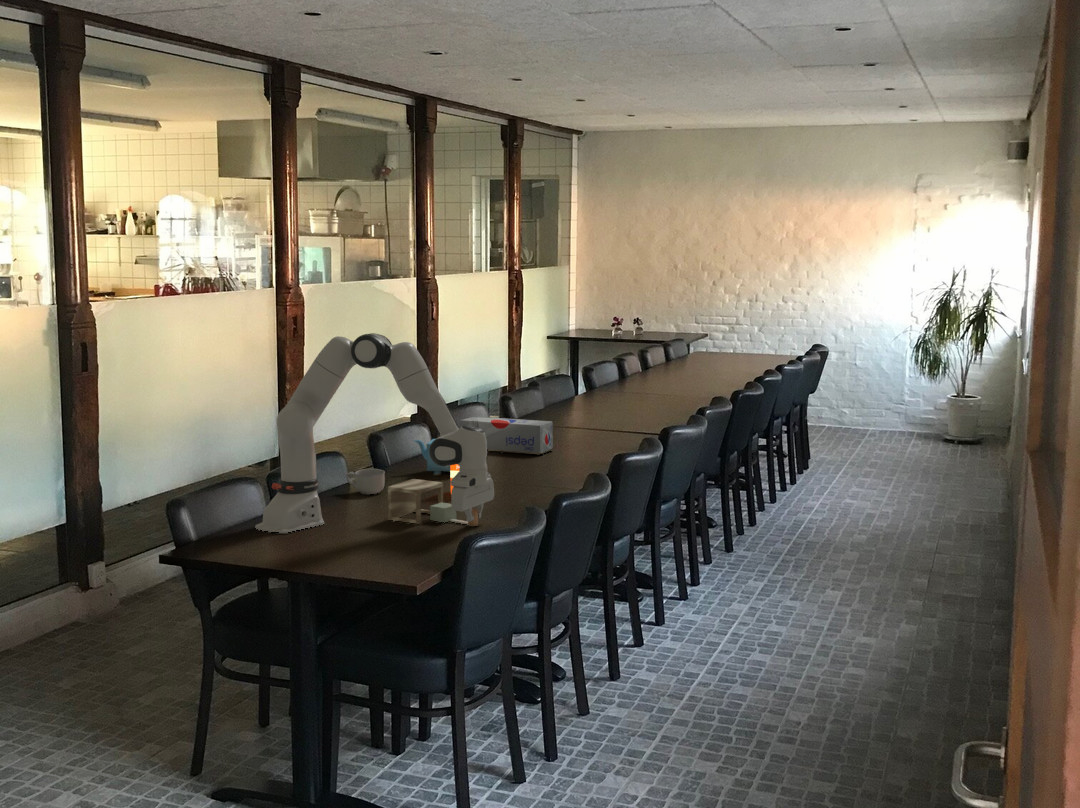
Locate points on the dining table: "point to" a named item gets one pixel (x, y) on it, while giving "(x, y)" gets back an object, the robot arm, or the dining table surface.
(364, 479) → the teacup
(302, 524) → the robot arm
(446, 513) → the block
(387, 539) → the dining table surface
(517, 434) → the soda pack
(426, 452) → the teakettle
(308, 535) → the dining table surface
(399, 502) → the cubby
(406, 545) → the dining table surface
